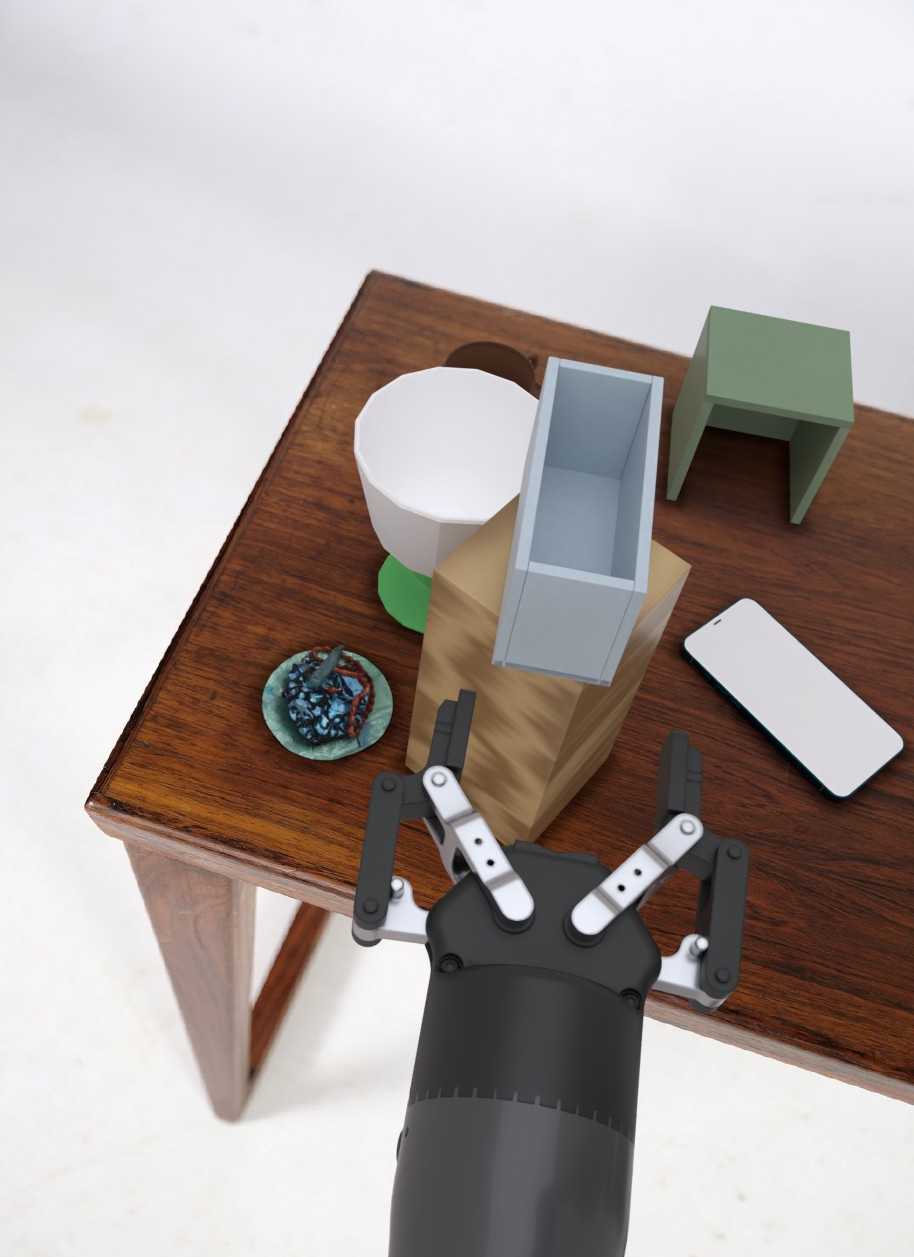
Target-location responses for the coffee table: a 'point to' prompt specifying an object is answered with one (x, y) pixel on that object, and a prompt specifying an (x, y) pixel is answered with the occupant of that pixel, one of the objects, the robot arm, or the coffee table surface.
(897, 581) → the coffee table surface
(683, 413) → the cabinet
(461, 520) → the cup
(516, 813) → the stand
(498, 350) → the cup and saucer
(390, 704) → the dish
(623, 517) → the bin
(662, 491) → the coffee table surface
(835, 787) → the smartphone
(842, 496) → the coffee table surface
